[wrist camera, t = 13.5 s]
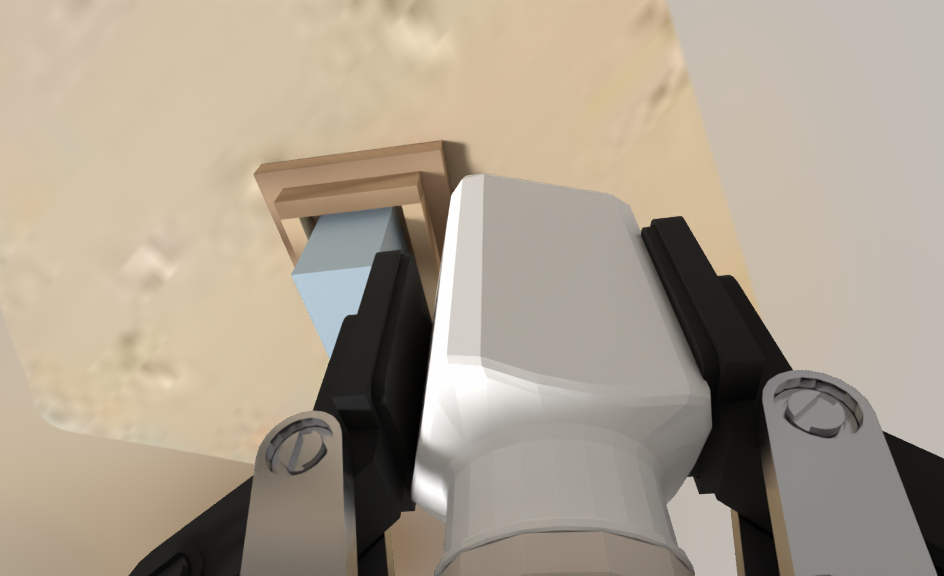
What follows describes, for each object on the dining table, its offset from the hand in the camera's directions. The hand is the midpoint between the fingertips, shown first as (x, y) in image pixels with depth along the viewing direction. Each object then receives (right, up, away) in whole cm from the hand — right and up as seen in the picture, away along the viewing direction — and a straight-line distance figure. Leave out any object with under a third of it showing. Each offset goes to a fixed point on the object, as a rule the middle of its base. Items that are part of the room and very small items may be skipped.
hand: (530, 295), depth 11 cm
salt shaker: (0, +1, +2) cm, 2 cm away
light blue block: (-7, +1, +20) cm, 21 cm away
